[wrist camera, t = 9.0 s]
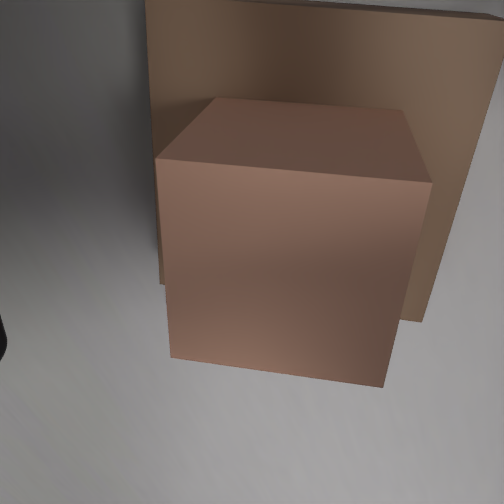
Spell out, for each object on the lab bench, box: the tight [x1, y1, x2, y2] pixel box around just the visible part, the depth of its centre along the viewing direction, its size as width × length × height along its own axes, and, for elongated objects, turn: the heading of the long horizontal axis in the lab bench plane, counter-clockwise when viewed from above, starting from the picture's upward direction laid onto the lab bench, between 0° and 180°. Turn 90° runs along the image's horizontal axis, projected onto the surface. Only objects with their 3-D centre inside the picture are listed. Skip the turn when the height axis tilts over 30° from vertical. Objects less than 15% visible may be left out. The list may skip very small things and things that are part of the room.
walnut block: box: [145, 0, 504, 322], centre depth 15 cm, size 9×9×3 cm
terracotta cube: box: [155, 97, 433, 388], centre depth 12 cm, size 5×5×5 cm
